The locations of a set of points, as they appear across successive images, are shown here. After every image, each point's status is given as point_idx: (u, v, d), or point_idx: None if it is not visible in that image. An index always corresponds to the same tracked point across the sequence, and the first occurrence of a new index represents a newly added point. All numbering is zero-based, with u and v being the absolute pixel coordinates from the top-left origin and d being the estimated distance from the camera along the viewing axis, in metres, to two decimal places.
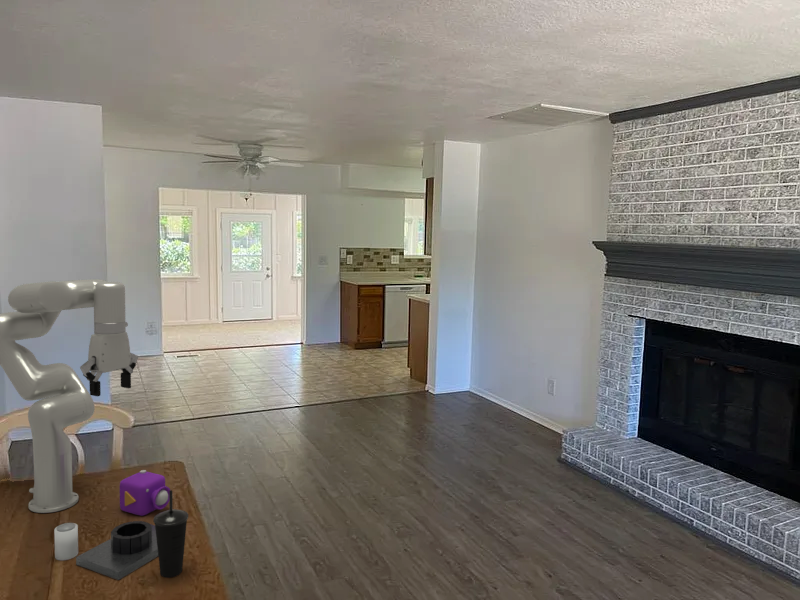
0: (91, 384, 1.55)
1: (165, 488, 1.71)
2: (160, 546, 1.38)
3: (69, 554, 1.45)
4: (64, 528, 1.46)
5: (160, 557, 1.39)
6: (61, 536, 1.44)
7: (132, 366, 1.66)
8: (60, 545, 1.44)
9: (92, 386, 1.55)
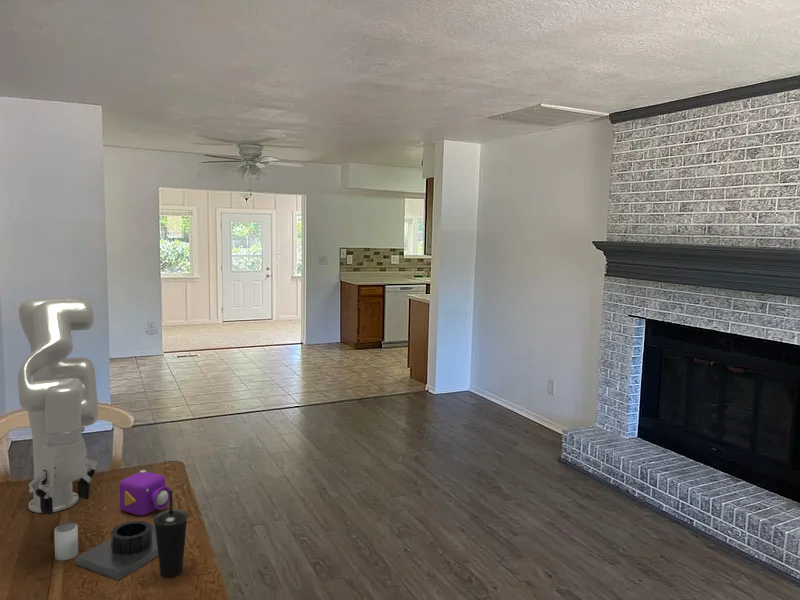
0: (42, 501, 1.40)
1: (165, 488, 1.71)
2: (160, 546, 1.38)
3: (69, 554, 1.45)
4: (64, 528, 1.46)
5: (160, 557, 1.39)
6: (61, 536, 1.44)
7: (90, 474, 1.51)
8: (60, 545, 1.44)
9: (43, 503, 1.40)
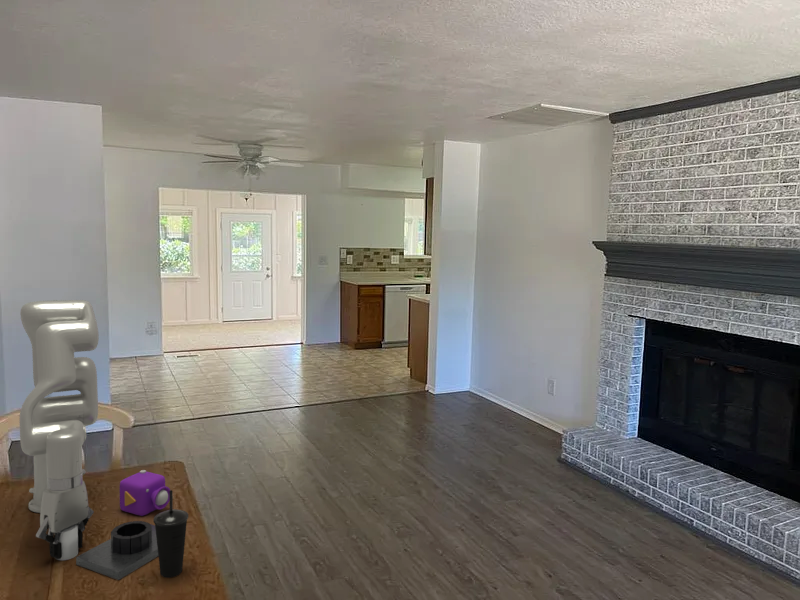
0: (51, 546, 1.43)
1: (165, 488, 1.71)
2: (160, 546, 1.38)
3: (69, 554, 1.45)
4: None
5: (160, 557, 1.39)
6: (61, 536, 1.44)
7: (84, 522, 1.50)
8: None
9: (52, 548, 1.43)
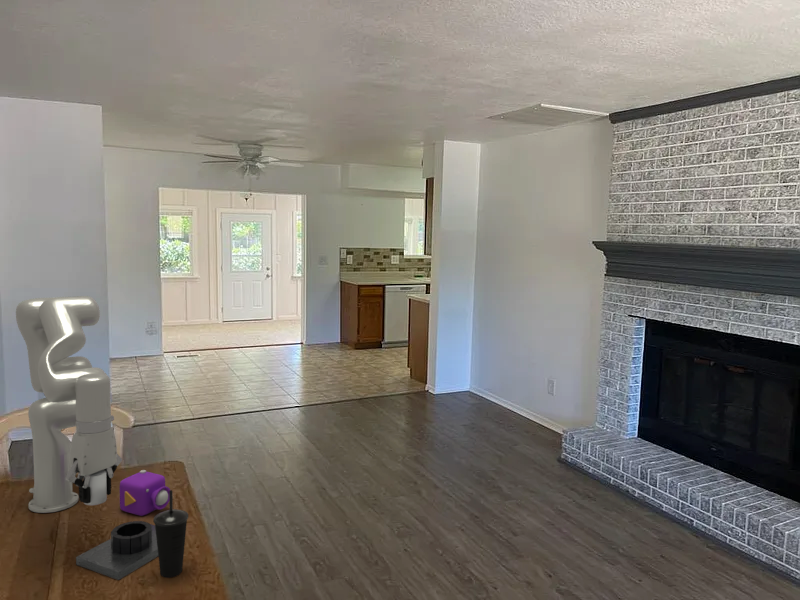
0: (80, 490, 1.43)
1: (165, 488, 1.71)
2: (160, 546, 1.38)
3: (98, 499, 1.45)
4: (93, 473, 1.45)
5: (160, 557, 1.39)
6: (89, 481, 1.43)
7: (112, 469, 1.50)
8: None
9: (81, 493, 1.43)
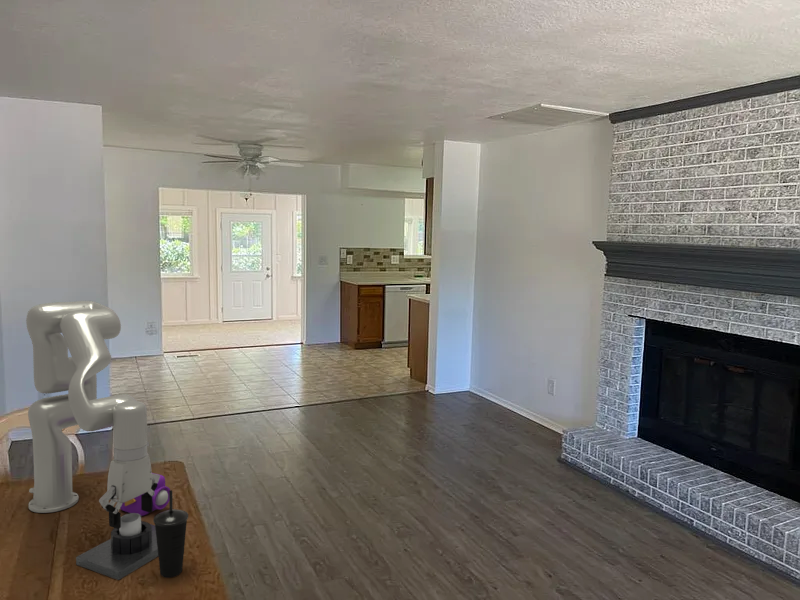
0: (111, 516, 1.43)
1: (165, 488, 1.71)
2: (160, 546, 1.38)
3: None
4: (128, 519, 1.47)
5: (160, 557, 1.39)
6: (126, 527, 1.46)
7: (153, 487, 1.53)
8: (125, 535, 1.46)
9: (112, 518, 1.43)
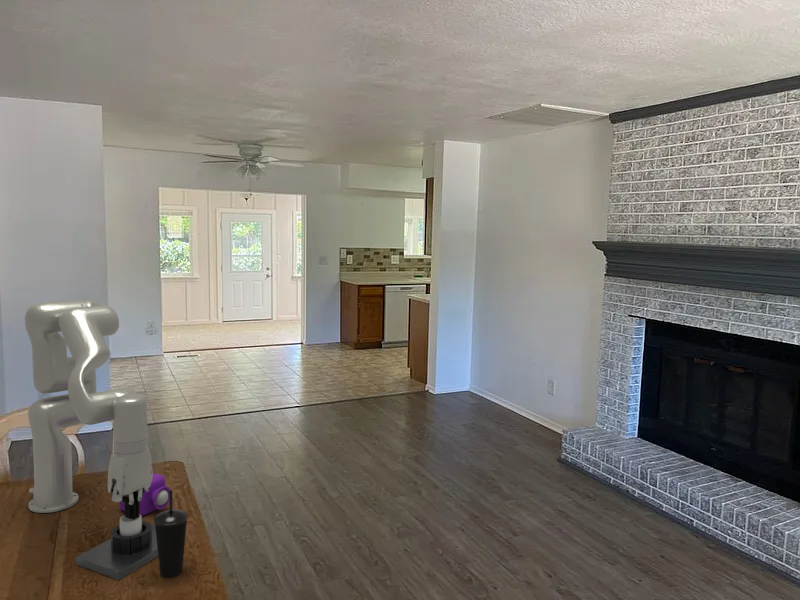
0: (126, 507, 1.47)
1: (165, 488, 1.71)
2: (160, 546, 1.38)
3: None
4: None
5: (160, 557, 1.39)
6: (128, 526, 1.46)
7: None
8: (127, 535, 1.46)
9: (127, 509, 1.46)
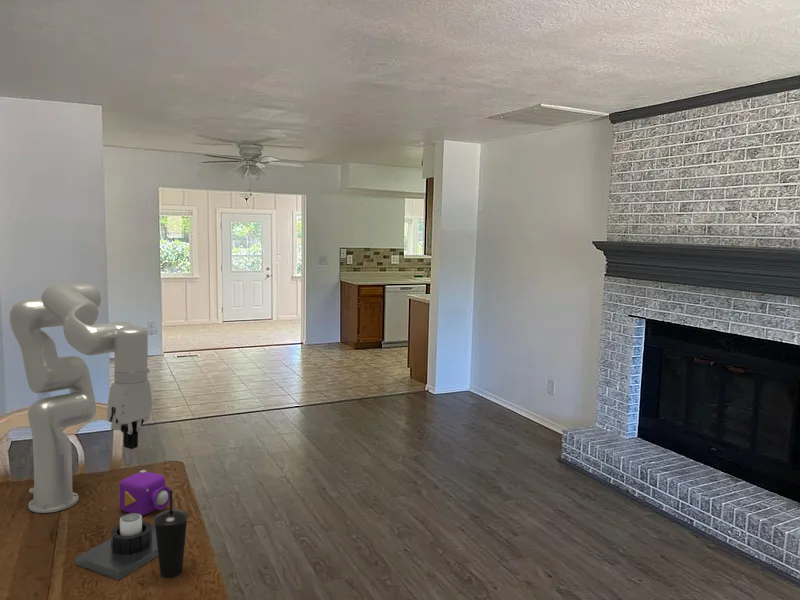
0: (125, 436, 1.50)
1: (165, 488, 1.71)
2: (160, 546, 1.38)
3: None
4: (130, 518, 1.47)
5: (160, 557, 1.39)
6: (128, 526, 1.46)
7: None
8: (127, 535, 1.46)
9: (126, 439, 1.50)
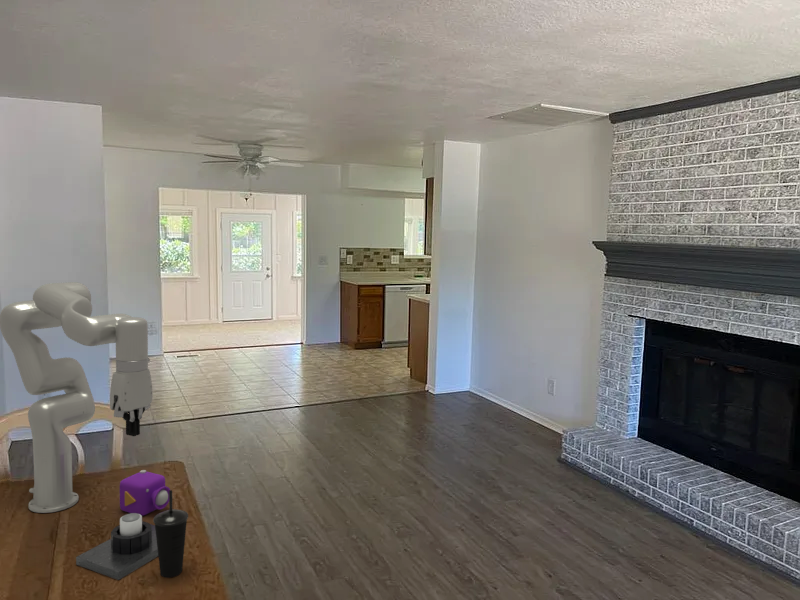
0: (127, 424, 1.54)
1: (165, 488, 1.71)
2: (160, 546, 1.38)
3: None
4: (130, 518, 1.47)
5: (160, 557, 1.39)
6: (128, 526, 1.46)
7: None
8: (127, 535, 1.46)
9: (128, 426, 1.54)
